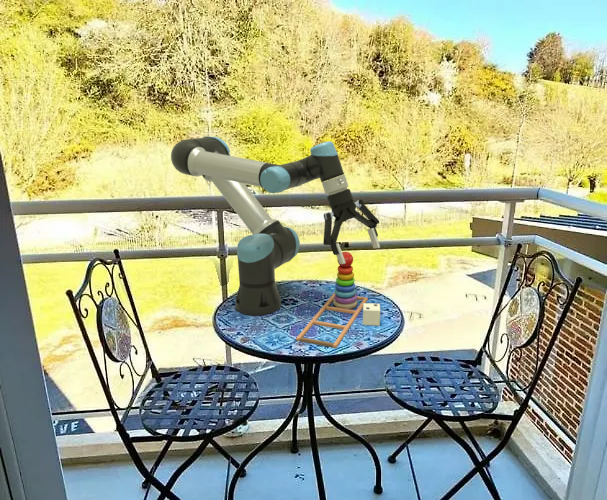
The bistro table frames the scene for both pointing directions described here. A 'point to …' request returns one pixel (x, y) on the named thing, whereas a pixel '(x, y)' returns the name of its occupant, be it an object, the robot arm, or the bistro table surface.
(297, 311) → the bistro table surface
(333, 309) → the ladder
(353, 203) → the robot arm
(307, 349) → the bistro table surface
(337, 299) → the stacking toy
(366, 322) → the die
